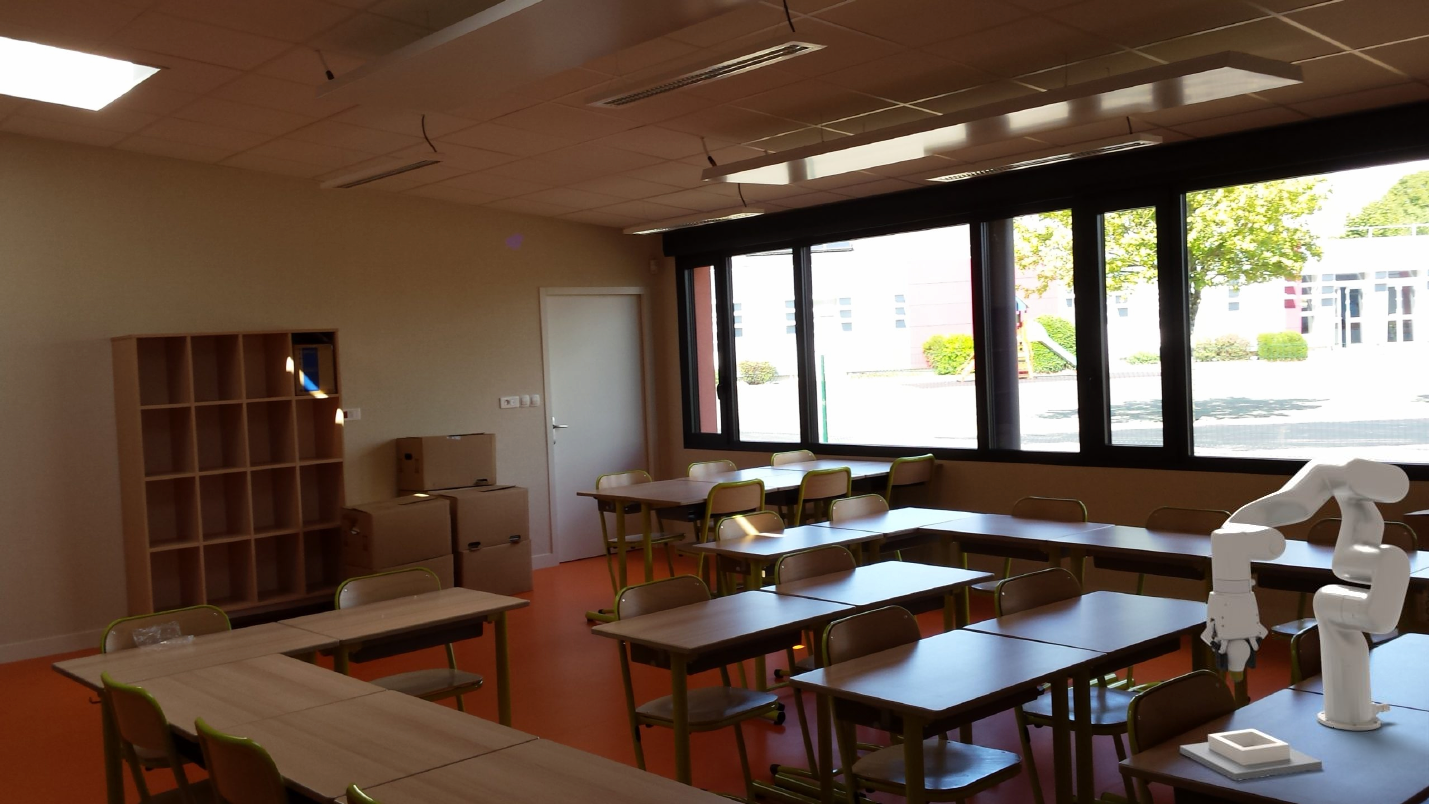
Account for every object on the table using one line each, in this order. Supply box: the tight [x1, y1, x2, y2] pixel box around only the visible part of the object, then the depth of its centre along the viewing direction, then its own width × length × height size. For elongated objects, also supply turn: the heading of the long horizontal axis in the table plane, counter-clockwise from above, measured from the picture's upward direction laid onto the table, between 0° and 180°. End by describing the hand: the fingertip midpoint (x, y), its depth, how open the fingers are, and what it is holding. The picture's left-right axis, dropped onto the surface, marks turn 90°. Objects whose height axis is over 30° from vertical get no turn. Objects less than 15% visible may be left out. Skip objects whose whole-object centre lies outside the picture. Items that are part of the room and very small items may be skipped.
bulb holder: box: [1179, 728, 1323, 781], centre depth 224 cm, size 20×18×4 cm
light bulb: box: [1225, 639, 1250, 683], centre depth 231 cm, size 6×6×10 cm
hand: (1236, 668), depth 231 cm, fingers closed on light bulb, 5 cm apart
